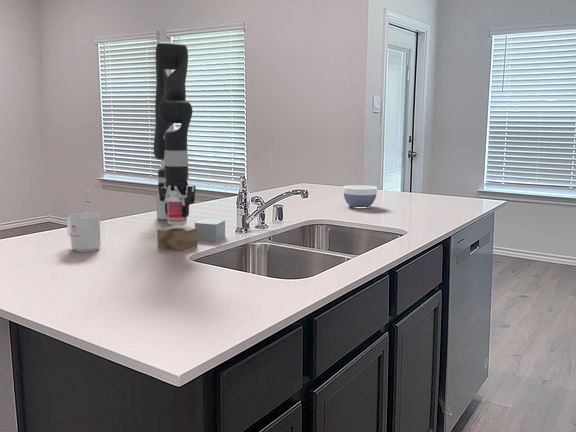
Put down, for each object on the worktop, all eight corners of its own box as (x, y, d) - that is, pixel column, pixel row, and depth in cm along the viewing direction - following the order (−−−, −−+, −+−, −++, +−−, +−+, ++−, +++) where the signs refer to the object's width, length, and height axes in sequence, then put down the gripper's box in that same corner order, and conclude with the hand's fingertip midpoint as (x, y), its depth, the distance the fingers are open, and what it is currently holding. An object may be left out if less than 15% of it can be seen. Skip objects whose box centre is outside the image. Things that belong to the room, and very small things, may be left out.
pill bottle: (189, 224, 190) (189, 190, 188) (171, 226, 187) (171, 191, 185) (182, 221, 195) (181, 188, 193) (164, 222, 192) (163, 189, 190)
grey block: (194, 239, 202) (194, 222, 201) (204, 235, 210) (204, 218, 209) (216, 241, 200) (216, 224, 199) (225, 236, 208) (225, 220, 207)
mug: (106, 248, 188) (105, 214, 186) (85, 254, 181) (83, 218, 179) (80, 243, 194) (78, 210, 192) (58, 249, 186) (56, 214, 184)
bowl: (381, 206, 279) (382, 186, 277) (367, 211, 265) (368, 190, 264) (351, 203, 287) (352, 183, 285) (336, 207, 274) (337, 187, 272)
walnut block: (157, 247, 191) (157, 229, 189) (176, 242, 198) (175, 225, 197) (179, 251, 186) (178, 232, 185) (197, 246, 194) (196, 228, 193)
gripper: (151, 163, 188) (152, 215, 191) (186, 166, 180) (186, 220, 184) (167, 162, 194) (168, 211, 197) (201, 164, 187) (201, 216, 190)
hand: (177, 215), depth 190 cm, fingers closed on pill bottle, 6 cm apart
